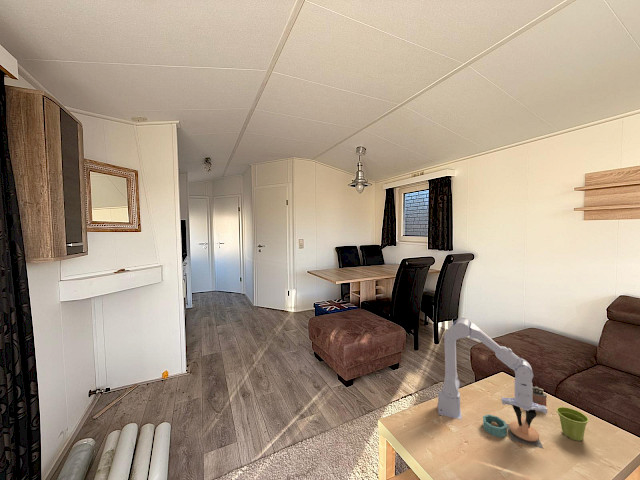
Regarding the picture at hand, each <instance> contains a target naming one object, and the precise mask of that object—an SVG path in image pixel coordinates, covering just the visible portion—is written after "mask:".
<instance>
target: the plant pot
mask: <svg viewBox="0 0 640 480" xmlns="http://www.w3.org/2000/svg"><path fill="white" fill-rule="evenodd" d="M556 413H557V414H558V417H559V421H560V425H561V426H560V427H561V431H562V434H563V435H564V436H565V437H568V438H569V439H571V440H574V441H578V442H580V441H582V440H584V437H585V430H586V425H587V424H588V423H589V421H590V419H589V417H588V416H587V415H586V414H584V413H583V412H581V411H578V410H577V409H574V408H571V407H566V406H559V407H556Z"/></svg>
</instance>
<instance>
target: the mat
mask: <svg viewBox="0 0 640 480" xmlns="http://www.w3.org/2000/svg"><path fill="white" fill-rule="evenodd" d="M509 424H510V423H506V425H507V432H508V434H509V436H510V440H511V441H513V442H515V443H516V442H517V443H521V444H524V445H528V446H530V447H531V446H532V447H535V448H540V449H545V448H544V446H543V444H542V442H541V440H540V439H539V440H537V441H527V440H524V439H522V438H519V437H518V436H516V435H514V434H513V433H512V432H511V431H510V429H509Z"/></svg>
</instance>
